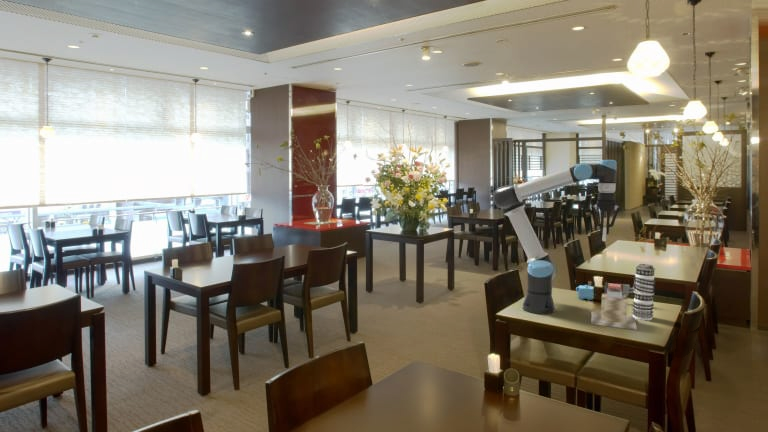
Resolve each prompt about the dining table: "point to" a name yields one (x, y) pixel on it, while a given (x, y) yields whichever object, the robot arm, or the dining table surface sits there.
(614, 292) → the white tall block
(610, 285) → the keeper flap
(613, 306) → the hitch block
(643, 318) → the black and white tower
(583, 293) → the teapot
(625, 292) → the mechanical component
